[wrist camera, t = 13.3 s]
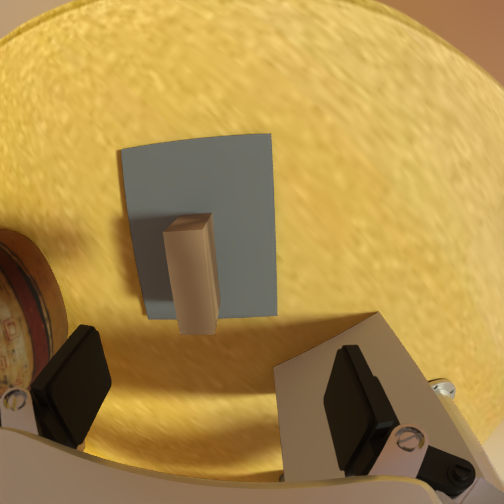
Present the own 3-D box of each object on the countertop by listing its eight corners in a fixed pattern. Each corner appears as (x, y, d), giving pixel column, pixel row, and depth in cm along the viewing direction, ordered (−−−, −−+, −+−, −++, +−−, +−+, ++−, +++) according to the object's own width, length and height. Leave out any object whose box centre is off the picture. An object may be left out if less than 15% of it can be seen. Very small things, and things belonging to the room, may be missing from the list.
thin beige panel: (292, 392, 35) (324, 612, 7) (272, 367, 34) (295, 621, 5) (390, 341, 33) (500, 545, 4) (378, 311, 31) (513, 542, 3)
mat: (276, 311, 31) (277, 315, 30) (150, 315, 31) (148, 319, 30) (270, 134, 25) (271, 133, 24) (124, 149, 25) (121, 149, 24)
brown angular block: (212, 212, 27) (202, 229, 21) (220, 300, 30) (214, 334, 24) (180, 215, 27) (162, 232, 21) (191, 301, 30) (180, 334, 24)
